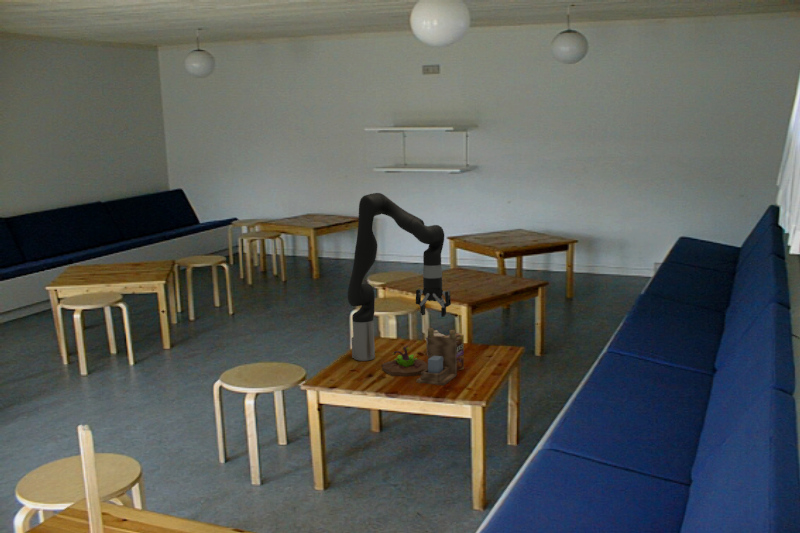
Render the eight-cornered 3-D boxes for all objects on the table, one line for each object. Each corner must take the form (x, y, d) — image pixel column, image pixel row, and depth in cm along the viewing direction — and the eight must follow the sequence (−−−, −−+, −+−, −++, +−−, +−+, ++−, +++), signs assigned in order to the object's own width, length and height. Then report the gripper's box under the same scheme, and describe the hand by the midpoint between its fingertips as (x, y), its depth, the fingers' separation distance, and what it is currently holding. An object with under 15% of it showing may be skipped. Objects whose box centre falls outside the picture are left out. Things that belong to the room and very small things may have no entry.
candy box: (447, 373, 311) (446, 337, 308) (441, 371, 314) (440, 335, 312) (464, 369, 316) (463, 334, 313) (458, 367, 319) (457, 332, 317)
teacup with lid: (427, 353, 342) (426, 328, 341) (447, 353, 341) (446, 328, 339) (424, 360, 331) (423, 334, 329) (445, 360, 329) (444, 334, 328)
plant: (390, 380, 305) (389, 353, 304) (377, 367, 324) (376, 342, 322) (436, 374, 311) (435, 348, 310) (420, 362, 330) (420, 337, 328)
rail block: (428, 378, 301) (427, 359, 300) (435, 373, 307) (434, 355, 306) (437, 379, 300) (437, 360, 298) (444, 374, 306) (443, 355, 304)
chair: (416, 382, 300) (414, 336, 298) (430, 372, 313) (429, 327, 310) (444, 385, 295) (443, 338, 292) (457, 375, 308) (456, 330, 305)
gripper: (412, 276, 297) (413, 316, 300) (445, 278, 291) (446, 319, 294) (419, 273, 304) (420, 312, 306) (452, 275, 298) (453, 314, 300)
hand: (433, 315), depth 300 cm, fingers open, 8 cm apart
